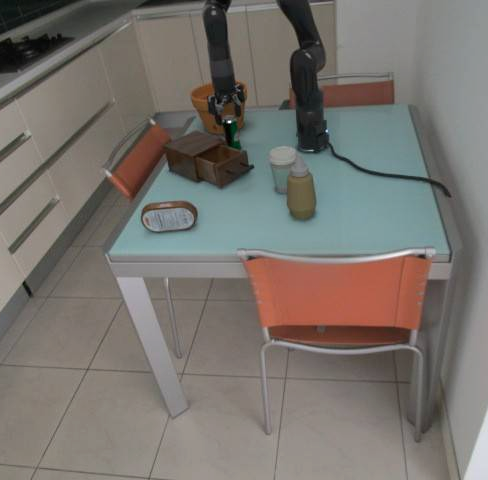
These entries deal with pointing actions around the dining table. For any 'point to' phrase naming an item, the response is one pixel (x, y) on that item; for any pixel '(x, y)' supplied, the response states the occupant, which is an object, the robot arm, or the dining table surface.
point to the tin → (169, 216)
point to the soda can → (231, 132)
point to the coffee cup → (281, 165)
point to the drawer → (223, 165)
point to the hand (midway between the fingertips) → (229, 120)
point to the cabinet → (189, 153)
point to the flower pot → (208, 119)
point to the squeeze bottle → (300, 190)
